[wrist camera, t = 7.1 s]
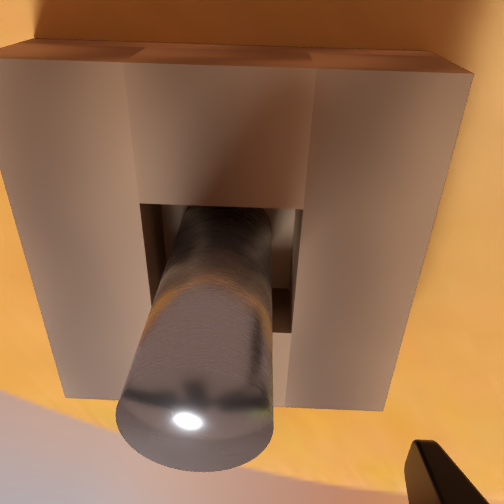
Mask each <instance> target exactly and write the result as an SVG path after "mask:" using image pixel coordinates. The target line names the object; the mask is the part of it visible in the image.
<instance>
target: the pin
mask: <svg viewBox="0 0 504 504" xmlns="http://www.w3.org/2000/svg"><path fill="white" fill-rule="evenodd" d="M116 422H117V426H118V429H119V431H120V433H121V435H122V436H123V438H124V439H125V440H126V442H127V443H128V444H129V445H130V446H131V447H132V448H134V449H135V450H136V451H137V452H138V453H140V454H141V455H143V456H145V457H146V458H148V459H150V460H152V461H154V462H156V463H159V464H161V465H164V466H167V467H170V468H174V469H179V470H185V471H193V472H212V471H221V470H227V469H231V468H234V467H237V466H240V465H243V464H245V463H247V462H249V461H251V460H252V459H254V458H255V457H257V456H258V455H259V454H260V453H261V452H262V451H263V450H264V449H265V448H266V447H267V445H268V444H269V442H270V440H271V437H272V434H273V338H272V243H271V224H270V221H269V218H268V216H267V214H266V212H265V211H264V209H263V208H252V207H225V206H198V205H189V207H188V208H187V209H186V211H185V213H184V215H183V218H182V221H181V224H180V227H179V229H178V232H177V235H176V238H175V241H174V244H173V247H172V250H171V252H170V255H169V258H168V261H167V264H166V267H165V270H164V273H163V275H162V278H161V281H160V284H159V287H158V290H157V293H156V296H155V298H154V301H153V304H152V307H151V310H150V313H149V316H148V319H147V321H146V324H145V327H144V330H143V333H142V336H141V339H140V342H139V344H138V347H137V350H136V353H135V356H134V359H133V362H132V365H131V367H130V370H129V373H128V376H127V379H126V382H125V385H124V388H123V390H122V393H121V396H120V399H119V402H118V405H117V408H116Z"/></svg>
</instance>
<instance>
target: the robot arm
mask: <svg viewBox="0 0 504 504" xmlns="http://www.w3.org/2000/svg"><path fill="white" fill-rule="evenodd" d="M404 474H405V481H406V487H407V494H408V500H409V504H489V503H488V502H487V500H486V499H485V498H484V497H483V496H482V495H481V493H480V492H479V491H478V490H477V489H476V488H475V486H474V485H473V484H472V483H471V482H470V480H469V479H468V478H467V477H466V476H465V475H464V473H463V472H462V471H461V470H460V469H459V467H458V466H457V465H456V464H455V463H454V462H453V460H452V459H451V458H450V457H449V456H448V454H447V453H446V452H445V451H444V450H443V449H442V447H441V446H440V445H439V444H438V443H437V442H435V441H433V440H414V441H413V442H412V444H411V447H410V450H409V453H408V456H407V459H406V462H405V467H404Z"/></svg>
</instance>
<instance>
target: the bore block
mask: <svg viewBox="0 0 504 504" xmlns="http://www.w3.org/2000/svg"><path fill="white" fill-rule="evenodd" d="M473 76H474V73H472V72H470V71H468V70H466V69H464V68H462V67H460V66H458V65H456V64H454V63H452V62H450V61H448V60H446V59H444V58H442V57H440V56H438V55H436V54H434V53H432V52H430V51H407V50H376V49H344V48H313V47H282V46H250V45H219V44H188V43H156V42H125V41H94V40H62V39H30V40H26V41H23V42H20V43H16V44H13V45H9V46H6V47H2V48H0V170H1V174H2V177H3V181H4V184H5V188H6V191H7V195H8V198H9V202H10V205H11V209H12V212H13V216H14V219H15V223H16V226H17V230H18V233H19V237H20V240H21V244H22V247H23V251H24V254H25V258H26V261H27V265H28V268H29V272H30V275H31V279H32V282H33V286H34V289H35V293H36V296H37V300H38V303H39V307H40V310H41V314H42V317H43V321H44V324H45V328H46V331H47V335H48V339H49V342H50V346H51V349H52V353H53V356H54V360H55V363H56V367H57V370H58V374H59V377H60V381H61V384H62V388H63V391H64V395H65V398H78V399H102V400H119V399H120V396H121V393H122V390H123V388H124V385H125V382H126V379H127V376H128V373H129V370H130V367H131V365H132V362H133V359H134V356H135V353H136V350H137V347H138V344H139V342H140V339H141V336H142V333H143V330H144V327H145V324H146V321H147V319H148V316H149V313H150V310H151V307H152V304H153V301H154V298H155V296H156V293H157V290H158V287H159V284H160V281H161V278H162V275H163V273H164V270H165V267H166V264H167V261H168V258H169V255H170V252H171V250H172V247H173V244H174V241H175V238H176V235H177V232H178V229H179V227H180V224H181V221H182V218H183V215H184V213H185V211H186V209H187V208H188V207H189V205H198V206H225V207H252V208H263V209H264V211H265V212H266V214H267V216H268V218H269V221H270V224H271V243H272V338H273V407H291V408H314V409H338V410H362V411H383V409H384V406H385V402H386V398H387V395H388V391H389V387H390V384H391V380H392V376H393V372H394V369H395V365H396V361H397V358H398V354H399V350H400V347H401V343H402V339H403V335H404V332H405V328H406V324H407V321H408V317H409V313H410V309H411V306H412V302H413V298H414V295H415V291H416V287H417V284H418V280H419V276H420V272H421V269H422V265H423V261H424V258H425V254H426V250H427V247H428V243H429V239H430V235H431V232H432V228H433V224H434V221H435V217H436V213H437V209H438V206H439V202H440V198H441V195H442V191H443V187H444V184H445V180H446V176H447V172H448V169H449V165H450V161H451V158H452V154H453V150H454V147H455V143H456V139H457V135H458V132H459V128H460V124H461V121H462V117H463V113H464V109H465V106H466V102H467V98H468V95H469V91H470V87H471V84H472V80H473Z"/></svg>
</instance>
